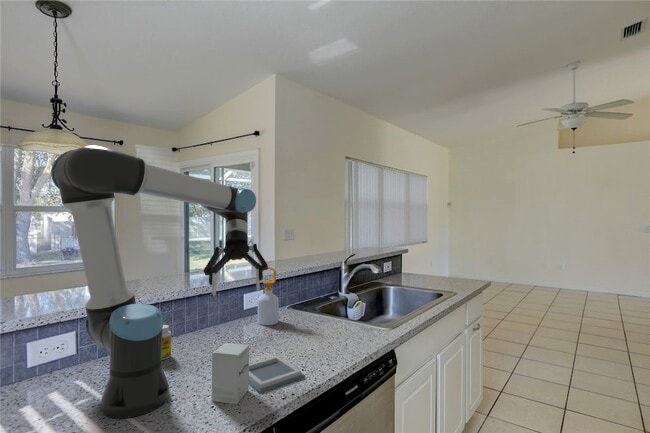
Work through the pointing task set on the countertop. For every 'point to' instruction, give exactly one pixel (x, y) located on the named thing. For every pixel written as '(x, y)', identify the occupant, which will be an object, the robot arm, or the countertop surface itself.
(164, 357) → the supplement bottle
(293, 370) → the slate base tray
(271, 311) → the soap bottle
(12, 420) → the countertop surface
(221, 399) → the supplement box
